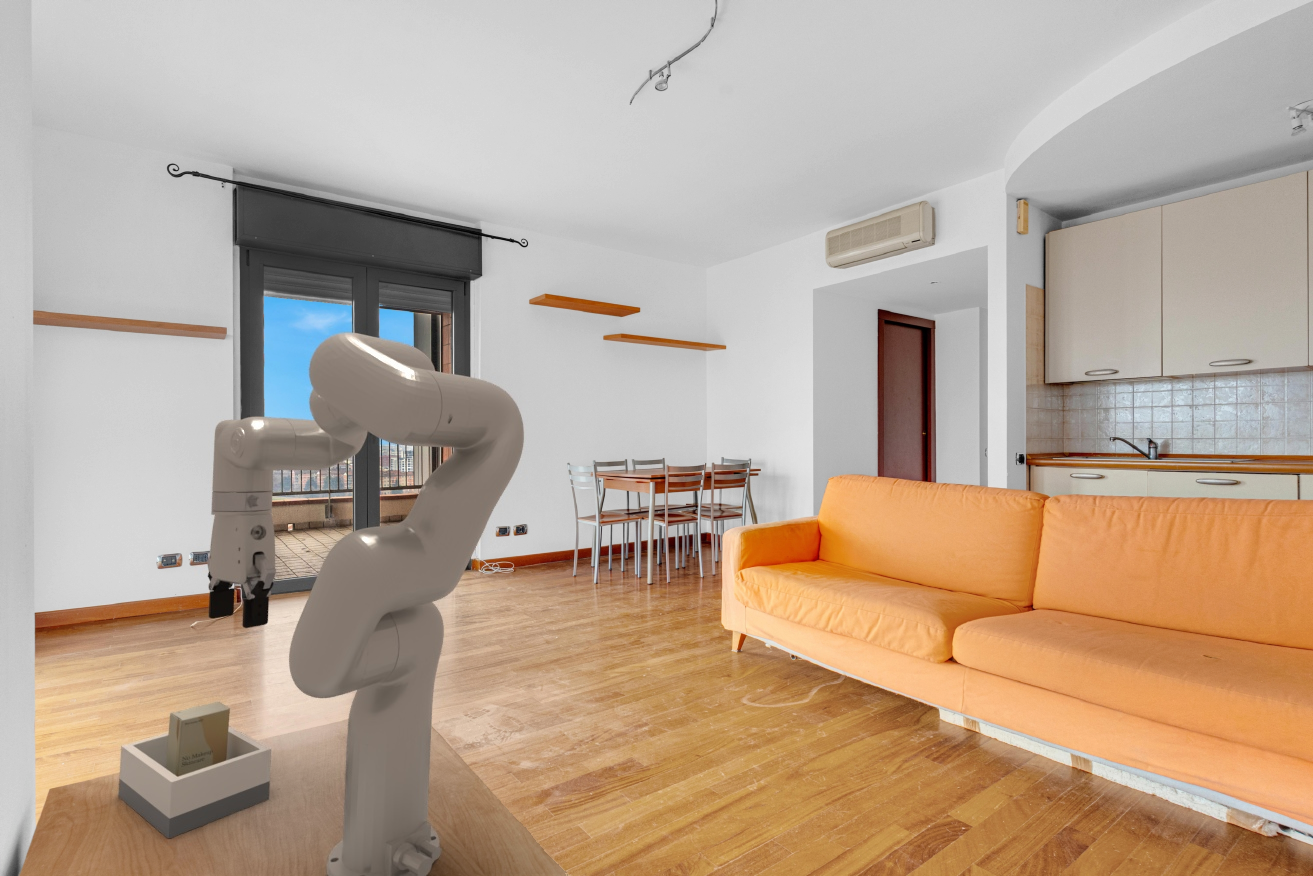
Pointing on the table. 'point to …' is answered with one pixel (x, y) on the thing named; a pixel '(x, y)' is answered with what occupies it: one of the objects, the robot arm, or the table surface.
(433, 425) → the robot arm
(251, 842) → the table surface
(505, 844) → the table surface
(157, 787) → the box
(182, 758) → the skincare box
